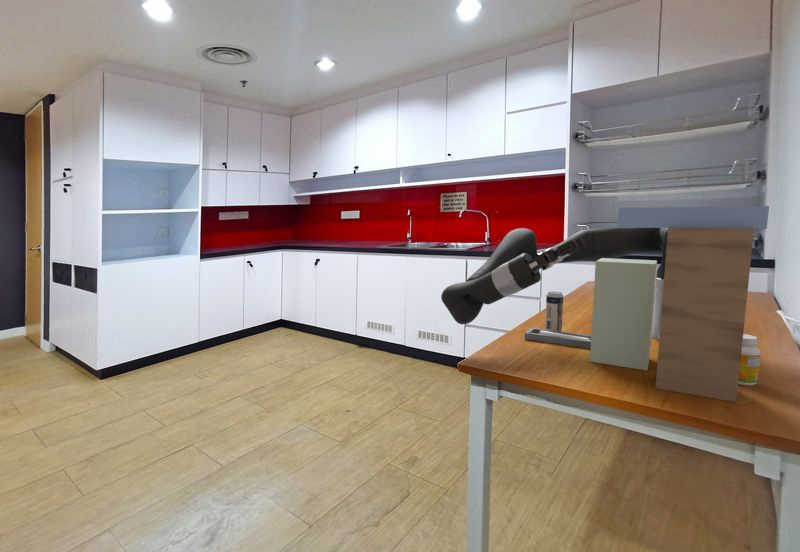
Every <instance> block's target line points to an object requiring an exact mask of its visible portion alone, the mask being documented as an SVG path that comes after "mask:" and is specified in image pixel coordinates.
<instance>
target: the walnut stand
mask: <svg viewBox="0 0 800 552" xmlns="http://www.w3.org/2000/svg"><path fill="white" fill-rule="evenodd" d="M754 233H755V229H729V228H668V236H667V249H666V261H665V274H664V287H663V299H662V312H661V325H660V337H659V341H658V350H657V351H658V352H657V354H658V355H657V363H656V365H657V366H656V377H655V389H658V390H664V391H670V392H674V393H675V392H676V393H682V394H688V395H693V396H699V397H705V398H710V399H715V400H721V401H727V402H732V403H733V402H734V403H737V400H738V399H737V398H738V389H739V384H738V380H739V370H740V361H741V351H742V341H743V334H744V333H745V332H744V329H745V321H746V311H747V301H748V300H747V299H748V291H749V282H750V273H751V263H752V262H751V261H752V254H753V253H752V252H753V243H754Z"/></svg>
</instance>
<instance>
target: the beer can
mask: <svg viewBox="0 0 800 552" xmlns="http://www.w3.org/2000/svg"><path fill="white" fill-rule="evenodd" d="M545 301H546V302H545V322H544V324H545V325H544V329H545V330H553V331H561V332H563V310H564V309H563V308H564V307H563V306H564V295H563V293H562V292H559V291H548V292H547V294H546V300H545Z"/></svg>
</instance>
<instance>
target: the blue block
mask: <svg viewBox="0 0 800 552" xmlns="http://www.w3.org/2000/svg"><path fill="white" fill-rule="evenodd" d="M769 210H770V206H769V205H764V206H763V205H760V206H759V205H757V206H756V205H755V206H754V205H751V206H749V205H747V206H745V205H744V206H667V207H666V206H664V207H663V206H662V207H661V206H656V207H653V206H651V207H648V206H647V207H645V206H644V207H618V211H617V226H616V227H623V228H729V229H754V230H757V229H759V230H760V229H761V230H767V228H768V219H769Z"/></svg>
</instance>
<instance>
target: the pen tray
mask: <svg viewBox="0 0 800 552" xmlns="http://www.w3.org/2000/svg"><path fill="white" fill-rule="evenodd" d="M541 330H542V331H548V332H554V333H560V334H566V335H572V336H578V337H584V338H589V340H591V334H582V333H575V332H567V331H553V330H545V328H544V329H543V328H538V327H530V328H529V329H528V330H527V331H525V332H524V340H528V341H535V342H542V343H550V344H558V345H563V346H564V345H565V346H570V347H576V348H577V347H578V348H584V349H590V350H591V341H588V340H581V339H573V338H566V337H558V336H551V335H544V334H539V332H540V331H541Z"/></svg>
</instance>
